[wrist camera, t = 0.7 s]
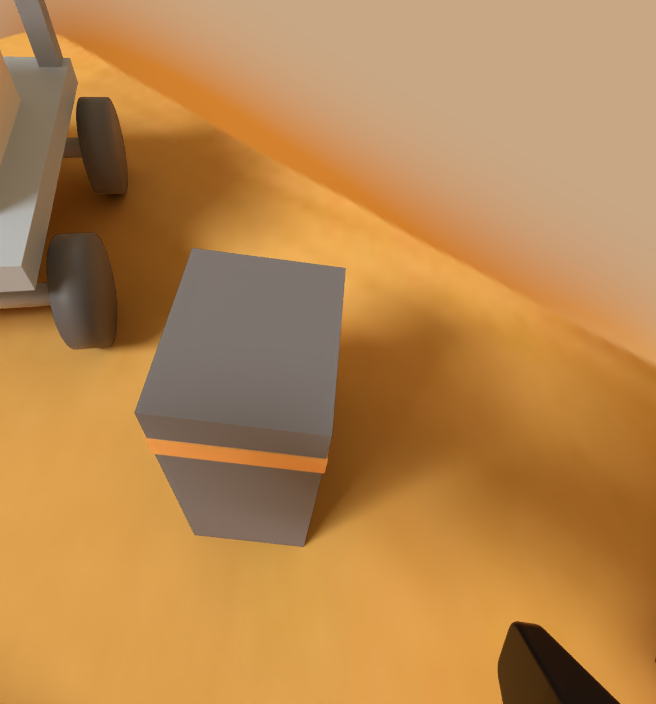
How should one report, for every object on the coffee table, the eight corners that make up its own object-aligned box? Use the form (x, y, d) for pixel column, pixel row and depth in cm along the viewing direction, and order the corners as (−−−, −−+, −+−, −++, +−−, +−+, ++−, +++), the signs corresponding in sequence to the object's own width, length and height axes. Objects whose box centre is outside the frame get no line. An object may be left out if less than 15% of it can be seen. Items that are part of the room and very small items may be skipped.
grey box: (304, 548, 22) (333, 438, 12) (193, 535, 22) (131, 414, 12) (321, 380, 27) (351, 209, 17) (231, 369, 27) (211, 190, 17)
